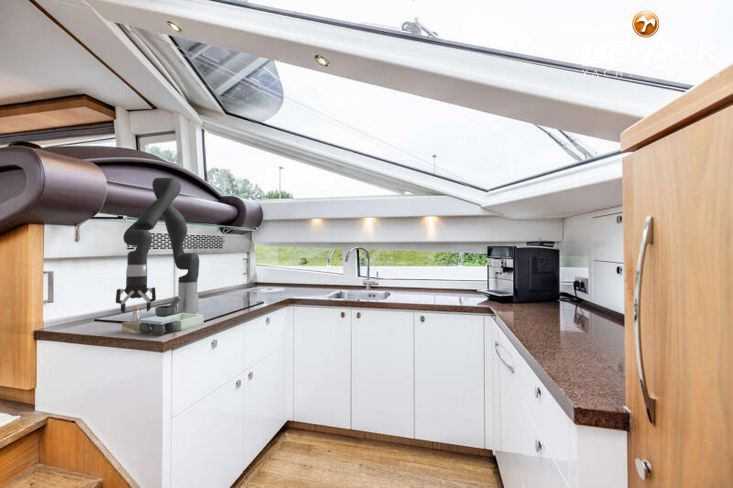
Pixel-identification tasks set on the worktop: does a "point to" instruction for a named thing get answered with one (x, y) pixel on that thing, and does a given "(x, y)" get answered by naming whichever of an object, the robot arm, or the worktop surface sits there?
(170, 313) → the mortar and pestle
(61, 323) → the worktop surface
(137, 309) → the stop pin
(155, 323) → the trolley
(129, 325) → the stop block
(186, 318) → the tray
